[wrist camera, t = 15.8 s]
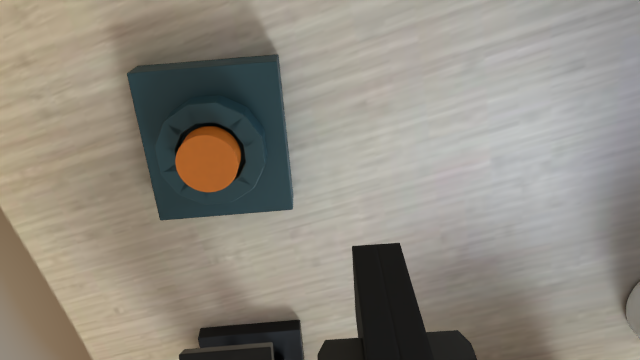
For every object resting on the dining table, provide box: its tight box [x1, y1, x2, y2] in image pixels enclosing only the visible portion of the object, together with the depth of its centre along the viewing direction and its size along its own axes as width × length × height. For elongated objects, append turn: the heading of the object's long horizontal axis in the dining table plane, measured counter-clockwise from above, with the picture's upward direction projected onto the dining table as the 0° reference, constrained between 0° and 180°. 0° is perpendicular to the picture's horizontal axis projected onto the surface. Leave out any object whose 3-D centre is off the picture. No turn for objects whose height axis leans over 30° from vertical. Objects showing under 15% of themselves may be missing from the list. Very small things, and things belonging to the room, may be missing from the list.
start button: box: [175, 126, 241, 192], centre depth 31 cm, size 4×4×2 cm
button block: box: [127, 55, 293, 220], centre depth 33 cm, size 10×9×4 cm
